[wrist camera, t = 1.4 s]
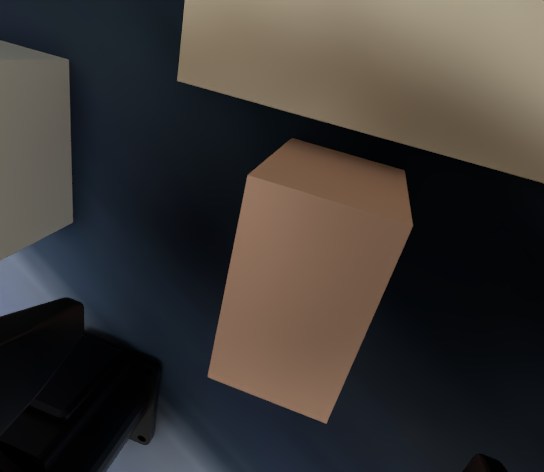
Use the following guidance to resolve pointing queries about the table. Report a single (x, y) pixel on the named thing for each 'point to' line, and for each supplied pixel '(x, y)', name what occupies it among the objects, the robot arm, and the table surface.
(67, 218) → the cream brick
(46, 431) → the robot arm
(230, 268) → the terracotta brick
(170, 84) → the table surface
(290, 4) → the birch board
